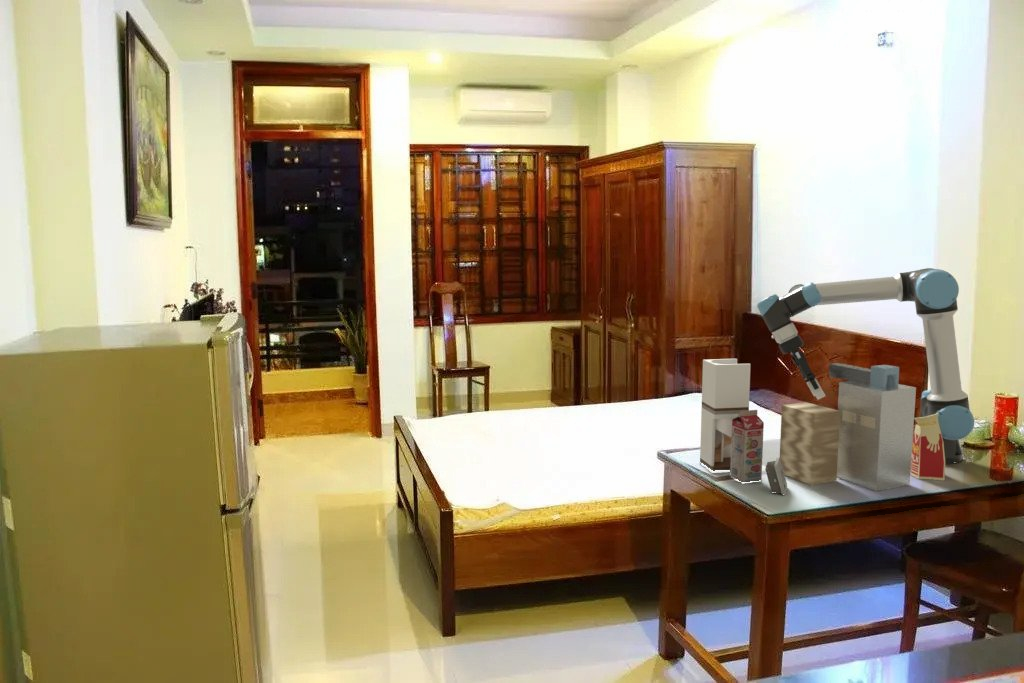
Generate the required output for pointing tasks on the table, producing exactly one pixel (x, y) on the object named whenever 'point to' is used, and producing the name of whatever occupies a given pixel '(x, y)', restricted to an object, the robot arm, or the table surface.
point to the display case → (721, 408)
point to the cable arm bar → (867, 374)
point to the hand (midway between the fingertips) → (819, 396)
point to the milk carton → (928, 449)
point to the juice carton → (747, 446)
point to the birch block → (809, 442)
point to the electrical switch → (776, 476)
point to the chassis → (875, 434)
